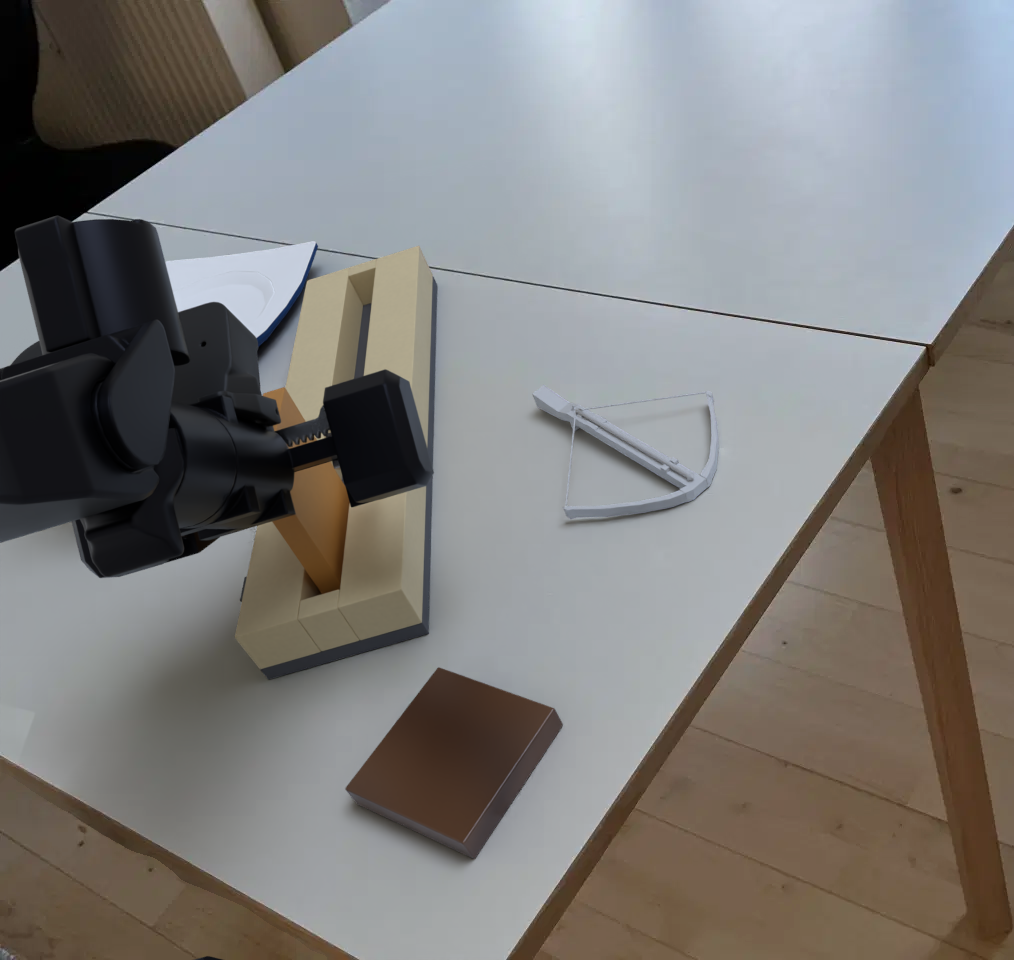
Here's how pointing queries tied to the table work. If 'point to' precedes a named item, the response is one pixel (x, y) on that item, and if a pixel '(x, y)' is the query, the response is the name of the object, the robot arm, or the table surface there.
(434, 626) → the table surface
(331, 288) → the toaster
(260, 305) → the plate
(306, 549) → the toast
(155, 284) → the robot arm
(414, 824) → the bread board
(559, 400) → the crossbow
